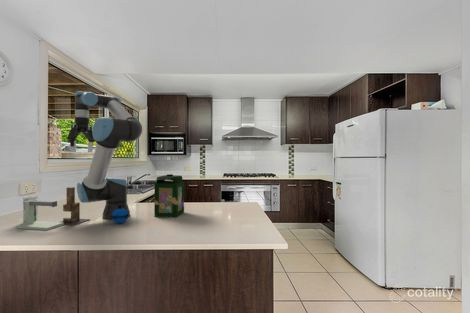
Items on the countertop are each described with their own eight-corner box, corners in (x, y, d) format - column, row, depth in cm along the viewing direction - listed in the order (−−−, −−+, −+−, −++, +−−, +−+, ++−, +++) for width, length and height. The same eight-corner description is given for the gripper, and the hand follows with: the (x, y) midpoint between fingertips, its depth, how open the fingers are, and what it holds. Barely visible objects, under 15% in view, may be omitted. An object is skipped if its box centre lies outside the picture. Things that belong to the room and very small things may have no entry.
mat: (90, 220, 150) (90, 219, 150) (73, 225, 138) (73, 224, 138) (71, 218, 152) (71, 218, 152) (54, 224, 140) (54, 223, 140)
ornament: (121, 226, 137) (121, 207, 137) (107, 224, 140) (107, 206, 140) (132, 222, 146) (132, 204, 146) (119, 220, 148) (119, 203, 148)
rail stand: (63, 225, 139) (63, 199, 139) (47, 230, 129) (46, 203, 129) (35, 223, 142) (35, 198, 142) (16, 228, 132) (16, 202, 132)
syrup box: (22, 224, 140) (22, 197, 140) (25, 221, 145) (25, 195, 145) (36, 223, 143) (35, 196, 143) (38, 220, 148) (38, 194, 148)
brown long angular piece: (79, 220, 147) (79, 186, 147) (69, 223, 140) (69, 188, 140) (73, 220, 148) (73, 186, 148) (63, 223, 141) (63, 187, 141)
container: (151, 217, 156) (151, 175, 156) (163, 211, 174) (163, 173, 174) (175, 218, 154) (175, 175, 154) (184, 211, 172) (185, 173, 172)
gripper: (91, 120, 173) (91, 152, 173) (59, 114, 149) (59, 152, 149) (101, 120, 172) (101, 152, 172) (71, 114, 147) (71, 152, 148)
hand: (82, 152), depth 161 cm, fingers open, 13 cm apart
